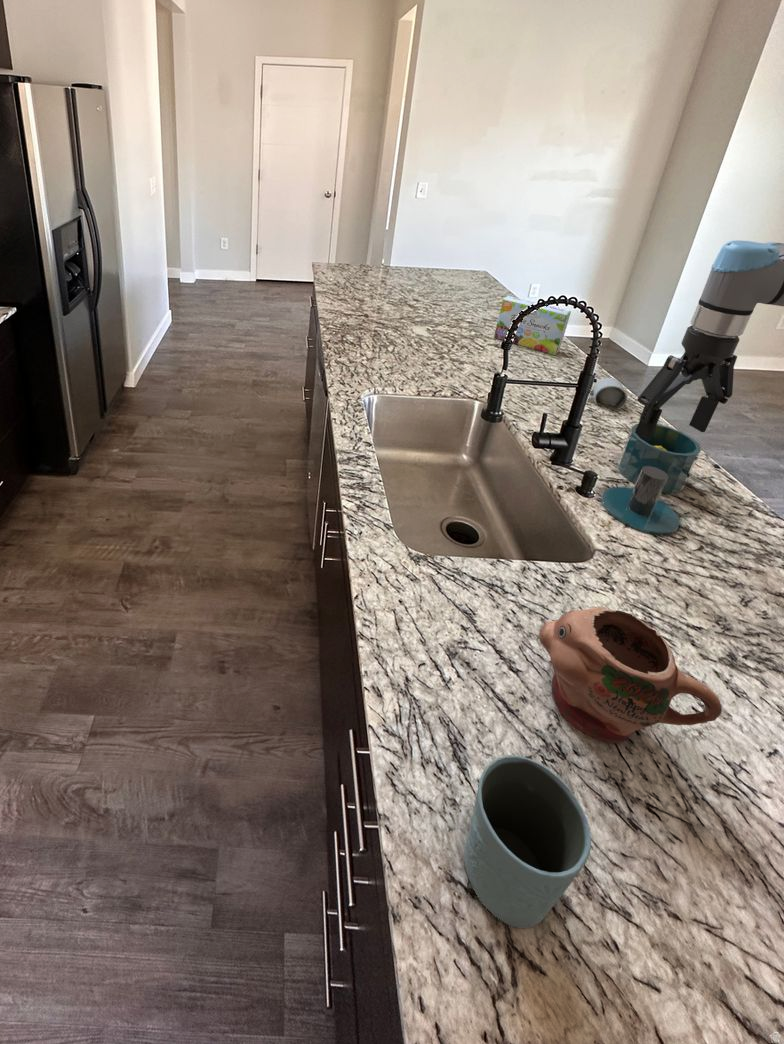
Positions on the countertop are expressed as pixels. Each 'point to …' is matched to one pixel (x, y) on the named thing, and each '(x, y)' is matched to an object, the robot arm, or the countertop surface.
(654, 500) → the lid
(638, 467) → the pot
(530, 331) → the snack box
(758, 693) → the countertop surface
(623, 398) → the ceramic mug
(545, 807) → the teal cup
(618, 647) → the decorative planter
